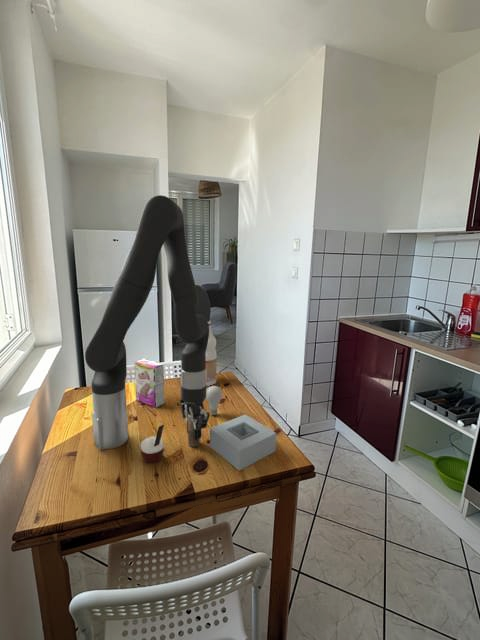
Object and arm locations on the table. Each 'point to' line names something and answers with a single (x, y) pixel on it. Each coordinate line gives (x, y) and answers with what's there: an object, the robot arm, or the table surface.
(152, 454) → the cocoa
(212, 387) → the lightbulb
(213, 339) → the fruit juice
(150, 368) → the candy bar box
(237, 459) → the socket block
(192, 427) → the dowel
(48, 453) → the table surface
